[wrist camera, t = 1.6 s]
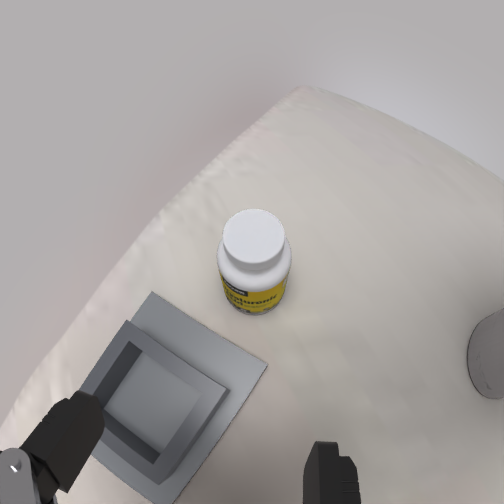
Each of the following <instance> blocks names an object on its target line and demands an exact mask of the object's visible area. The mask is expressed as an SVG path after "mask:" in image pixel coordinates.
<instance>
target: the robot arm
mask: <svg viewBox="0 0 504 504" xmlns="http://www.w3.org/2000/svg"><path fill="white" fill-rule="evenodd" d="M468 368H469V372H470V376H471V379H472V381H473V383H474V385H475V387H476V388H477V390H478V391H479V392H480V393H481V394H482V395H484V396H486V397H488V398H492V399H498V398H504V308H503V309H502V310H500V311H498V312H496V313H494V314H493V315H491V316H489V317H487V318H485V319H484V320H482V321H481V322H480V323H479V324H478V325H477V327H476V328H475V330H474V332H473V334H472V336H471V339H470V343H469V348H468ZM104 428H105V421H104V418H103V414H102V411H101V407H100V404H99V400H98V398H97V397H96V396H94V395H91V394H89V393H86V392H83V391H81V390H78V391H76V392H75V393H74V394H73V396H72V397H71V398H70V399H67V398H64V399H63V400H61V401H59V402H58V403H56V404H54V406H53V407H52V408H51V409H50V411H49V412H48V414H47V415H45V417H44V418H43V419H42V422H40V423H39V424H38V425H37V427H36V428H35V429H34V430H33V432H32V433H31V434H30V436H29V437H28V438H27V439H26V441H25V442H24V443H23V444H22V446H21V447H19V448H9V449H6V450H4V451H0V504H58V503H57V499H56V495H55V493H56V491H57V490H58V489H60V490H62V491H64V492H66V493H68V492H69V490H70V488H71V486H72V485H73V483H74V481H75V480H76V478H77V476H78V475H79V473H80V471H81V469H82V468H83V466H84V464H85V463H86V461H87V459H88V458H89V456H90V454H91V453H92V451H93V449H94V448H95V446H96V444H97V443H98V441H99V440H100V438H101V436H102V434H103V432H104ZM303 504H361V498H360V492H359V482H358V475H357V468H356V466H355V464H354V463H353V461H352V460H351V458H350V457H349V456H339V450H338V444H337V442H321V441H316V442H315V443H314V445H313V448H312V450H311V452H310V455H309V457H308V459H307V462H306V464H305V468H304V475H303Z"/></svg>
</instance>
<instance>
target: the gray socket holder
mask: <svg viewBox="0 0 504 504" xmlns="http://www.w3.org/2000/svg"><path fill="white" fill-rule="evenodd" d="M267 365H268V364H266V363H264V362H263V361H261V360H259V359H257V358H256V357H254V356H252V355H251V354H249V353H247V352H246V351H244V350H242V349H241V348H239V347H237V346H236V345H234V344H232V343H231V342H229V341H227V340H226V339H224V338H222V337H221V336H219V335H218V334H216V333H214V332H213V331H211V330H210V329H208V328H206V327H205V326H203V325H202V324H200V323H199V322H197V321H195V320H194V319H192V318H191V317H189V316H188V315H186V314H185V313H183V312H182V311H180V310H179V309H177V308H176V307H174V306H173V305H171V304H170V303H168V302H167V301H165V300H164V299H162V298H161V297H159V296H158V295H157V294H155V293H154V292H151V293H150V294H149V296H148V297H147V299H146V300H145V301H144V303H143V304H142V305H141V307H140V308H139V310H138V311H137V312H136V314H135V315H134V317H133V318H132V319H131V321H130V322H129V321H128V320H126V321H125V322H124V324H123V325H122V327H121V328H120V330H119V331H118V332H117V334H116V335H115V337H114V338H113V340H112V341H111V343H110V344H109V345H108V347H107V348H106V350H105V351H104V353H103V354H102V356H101V357H100V359H99V360H98V362H97V363H96V365H95V366H94V368H93V369H92V371H91V372H90V374H89V375H88V377H87V378H86V380H85V381H84V383H83V384H82V386H81V388H80V389H79V390H81V391H83V392H86V393H89V394H91V395H94V396H96V397H97V398H98V400H99V404H100V407H101V411H102V414H103V418H104V421H105V428H104V432H103V434H102V436H101V438H100V440H99V441H98V443H97V444H96V446H95V448H94V449H93V451H92V453H91V455H92V456H93V457H95V458H96V459H97V460H98V461H99V462H100V463H101V464H103V465H104V466H105V467H106V468H107V469H109V470H110V471H111V472H112V473H113V474H115V475H116V476H117V477H118V478H120V479H121V480H122V481H123V482H125V483H126V484H127V485H129V486H130V487H131V488H133V489H134V490H135V491H137V492H138V493H140V494H141V495H142V496H144V497H145V498H147V499H148V500H149V501H151V502H152V503H154V504H172V503H173V502H174V501H175V499H176V498H177V497H178V495H179V494H180V493H181V491H182V490H183V489H184V488H185V486H186V485H187V484H188V482H189V481H190V479H191V478H192V477H193V475H194V474H195V473H196V471H197V470H198V469H199V467H200V466H201V464H202V463H203V462H204V460H205V459H206V457H207V456H208V455H209V453H210V452H211V450H212V449H213V448H214V446H215V445H216V443H217V442H218V440H219V439H220V438H221V436H222V435H223V433H224V432H225V430H226V429H227V427H228V426H229V424H230V423H231V421H232V420H233V418H234V417H235V415H236V414H237V412H238V411H239V409H240V408H241V406H242V405H243V403H244V402H245V400H246V399H247V397H248V396H249V394H250V392H251V391H252V389H253V388H254V386H255V385H256V383H257V382H258V380H259V378H260V377H261V375H262V374H263V372H264V370H265V369H266V367H267Z"/></svg>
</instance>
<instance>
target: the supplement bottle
mask: <svg viewBox="0 0 504 504" xmlns="http://www.w3.org/2000/svg"><path fill="white" fill-rule="evenodd" d="M291 258H292V255H291V247H290V244H289V242H288V240H287V238H286V237H285V231H284V228H283V225H282V223H281V222H280V220H279V219H278V218H277V217H276V216H274V215H273V214H272V213H270V212H268V211H265V210H261V209H247V210H243V211H240V212H238V213H236V214H235V215H233V216H232V217H231V218H230V219H229V220H228V221H227V223H226V225H225V227H224V230H223V236H222V239H221V241H220V243H219V246H218V250H217V264H218V268H219V272H220V276H221V280H222V283H223V287H224V291H225V294H226V297H227V299H228V300H229V302H230V303H231V304H232V306H233V307H235V308H236V309H237V310H239V311H241V312H243V313H246V314H252V315H258V314H263V313H266V312H268V311H270V310H272V309H273V308H274V307H275V306H276V305H277V304H278V303H279V302H280V300H281V298H282V296H283V294H284V290H285V286H286V282H287V278H288V274H289V270H290V266H291Z"/></svg>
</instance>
